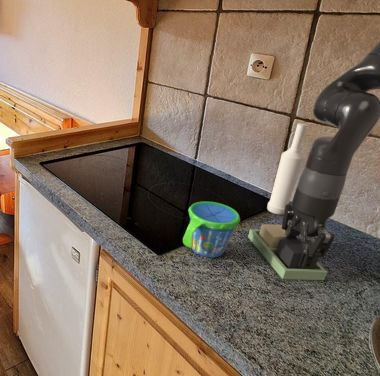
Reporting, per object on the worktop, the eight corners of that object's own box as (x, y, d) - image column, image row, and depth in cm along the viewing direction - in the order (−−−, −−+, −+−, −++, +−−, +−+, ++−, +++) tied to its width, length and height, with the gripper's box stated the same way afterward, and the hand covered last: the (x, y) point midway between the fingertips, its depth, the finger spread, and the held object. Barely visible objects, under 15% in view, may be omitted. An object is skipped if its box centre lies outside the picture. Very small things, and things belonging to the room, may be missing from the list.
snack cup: (197, 270, 87) (206, 230, 83) (164, 246, 96) (171, 208, 92) (248, 253, 94) (258, 215, 89) (212, 232, 102) (221, 196, 98)
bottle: (263, 205, 116) (286, 121, 105) (281, 206, 116) (307, 121, 105) (271, 214, 111) (297, 126, 101) (290, 215, 111) (318, 127, 101)
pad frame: (283, 237, 100) (285, 230, 99) (324, 280, 85) (327, 271, 84) (247, 236, 100) (249, 229, 100) (282, 279, 85) (285, 270, 84)
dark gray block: (300, 254, 91) (305, 239, 89) (314, 269, 86) (320, 253, 84) (275, 253, 91) (279, 238, 89) (288, 268, 86) (293, 253, 84)
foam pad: (280, 238, 99) (285, 224, 97) (292, 251, 94) (297, 237, 92) (257, 238, 99) (261, 224, 97) (268, 251, 94) (273, 236, 92)
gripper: (362, 206, 75) (332, 280, 82) (316, 175, 88) (294, 242, 95) (321, 205, 75) (295, 279, 82) (281, 175, 88) (262, 241, 95)
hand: (295, 259), depth 88 cm, fingers closed on dark gray block, 5 cm apart
